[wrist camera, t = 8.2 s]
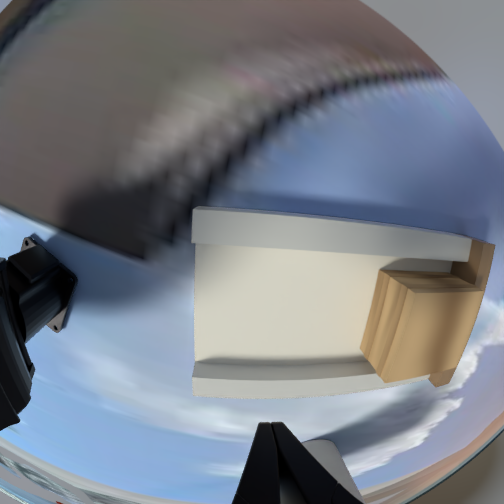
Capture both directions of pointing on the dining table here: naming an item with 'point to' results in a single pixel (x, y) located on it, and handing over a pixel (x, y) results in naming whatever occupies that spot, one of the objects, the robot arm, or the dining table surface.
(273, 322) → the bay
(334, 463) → the coffee cup
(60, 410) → the dining table surface
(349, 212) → the dining table surface
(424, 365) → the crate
